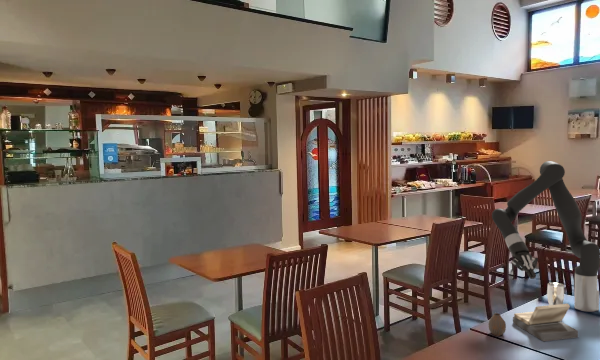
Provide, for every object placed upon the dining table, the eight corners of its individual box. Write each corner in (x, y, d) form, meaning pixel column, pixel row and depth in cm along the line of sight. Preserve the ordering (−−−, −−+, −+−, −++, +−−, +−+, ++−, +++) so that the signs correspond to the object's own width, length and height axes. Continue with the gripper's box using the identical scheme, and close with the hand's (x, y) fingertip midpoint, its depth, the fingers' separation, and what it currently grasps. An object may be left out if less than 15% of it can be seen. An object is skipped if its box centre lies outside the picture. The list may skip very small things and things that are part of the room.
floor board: (512, 323, 207) (513, 313, 207) (544, 319, 210) (544, 310, 209) (543, 341, 187) (543, 330, 187) (577, 337, 190) (578, 327, 190)
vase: (491, 329, 201) (491, 310, 200) (507, 333, 197) (507, 313, 196) (486, 334, 196) (486, 314, 195) (503, 338, 191) (503, 318, 191)
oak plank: (530, 324, 196) (528, 321, 197) (561, 321, 198) (559, 318, 199) (538, 309, 190) (536, 306, 192) (570, 306, 193) (567, 303, 194)
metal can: (559, 313, 217) (560, 282, 216) (566, 318, 210) (567, 286, 209) (544, 313, 218) (544, 282, 217) (550, 318, 211) (551, 286, 210)
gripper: (507, 241, 211) (524, 274, 200) (532, 240, 214) (551, 272, 202) (500, 250, 217) (516, 283, 206) (525, 248, 219) (542, 281, 208)
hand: (533, 277), depth 204 cm, fingers closed
